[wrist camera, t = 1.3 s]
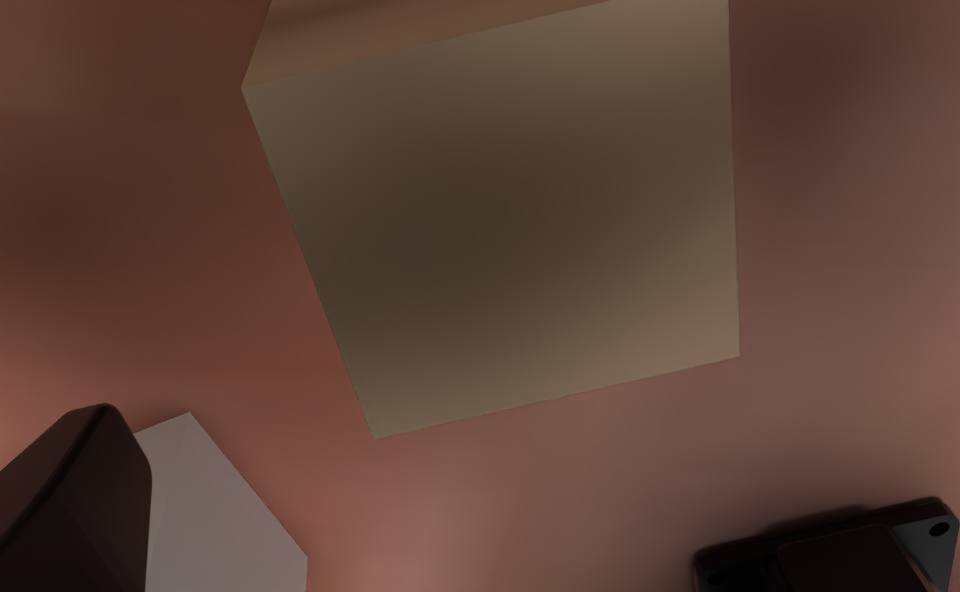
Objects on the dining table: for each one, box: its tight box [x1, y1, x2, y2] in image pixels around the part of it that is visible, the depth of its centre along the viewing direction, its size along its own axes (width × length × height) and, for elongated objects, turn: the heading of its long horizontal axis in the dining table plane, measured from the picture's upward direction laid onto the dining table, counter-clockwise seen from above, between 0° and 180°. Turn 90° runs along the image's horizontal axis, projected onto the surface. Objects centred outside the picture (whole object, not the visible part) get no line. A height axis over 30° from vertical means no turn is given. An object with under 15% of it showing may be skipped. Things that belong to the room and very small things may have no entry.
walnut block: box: [241, 0, 740, 440], centre depth 12 cm, size 5×5×5 cm
